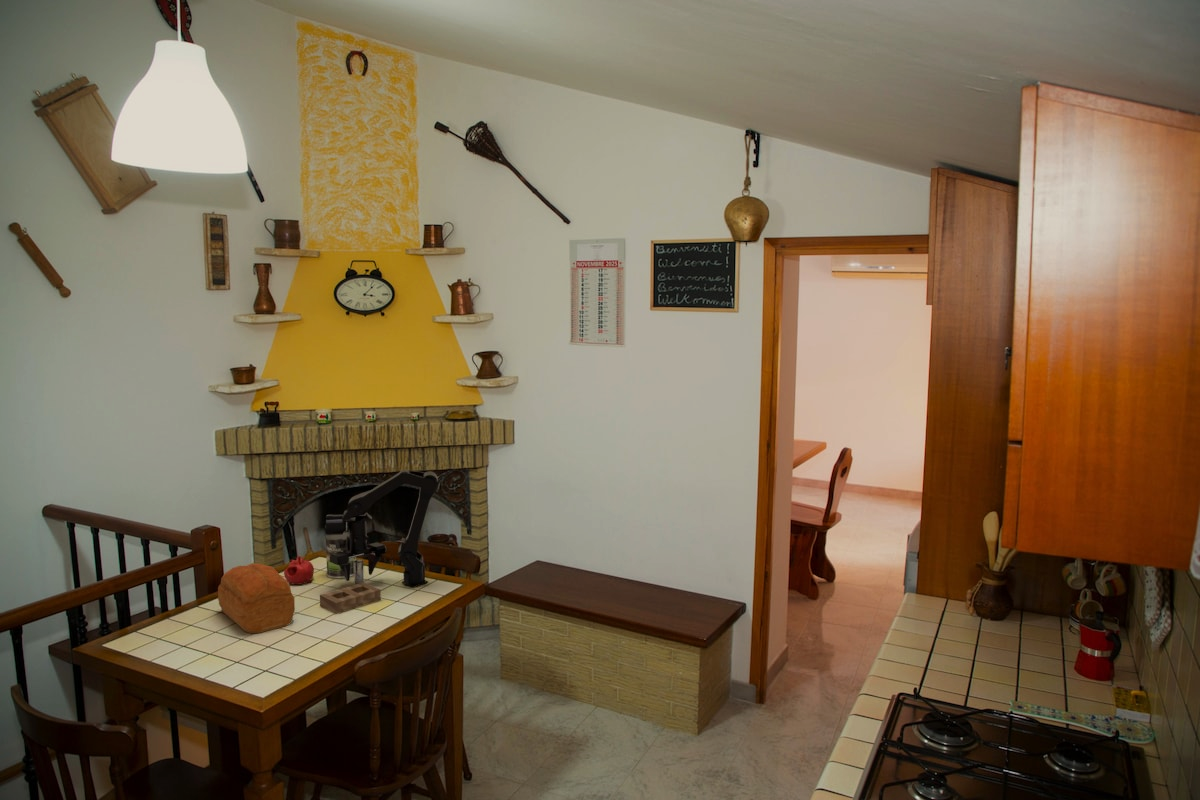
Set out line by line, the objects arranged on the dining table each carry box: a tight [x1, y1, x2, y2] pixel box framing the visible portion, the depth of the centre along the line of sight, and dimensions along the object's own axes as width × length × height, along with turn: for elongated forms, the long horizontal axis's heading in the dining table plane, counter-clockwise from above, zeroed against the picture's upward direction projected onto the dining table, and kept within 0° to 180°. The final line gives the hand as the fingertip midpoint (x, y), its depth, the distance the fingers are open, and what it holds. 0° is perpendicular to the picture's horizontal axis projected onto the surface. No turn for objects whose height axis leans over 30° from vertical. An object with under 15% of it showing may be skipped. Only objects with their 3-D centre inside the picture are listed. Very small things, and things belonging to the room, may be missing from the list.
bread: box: [217, 562, 296, 634], centre depth 252 cm, size 16×27×16 cm, turn 42°
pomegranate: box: [283, 555, 315, 585], centre depth 284 cm, size 10×10×9 cm
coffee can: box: [325, 531, 357, 579], centre depth 291 cm, size 10×10×14 cm
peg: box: [353, 559, 365, 585], centre depth 279 cm, size 3×3×9 cm
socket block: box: [319, 582, 382, 614], centre depth 265 cm, size 16×10×4 cm, turn 138°
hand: (359, 577), depth 279 cm, fingers open, 8 cm apart
